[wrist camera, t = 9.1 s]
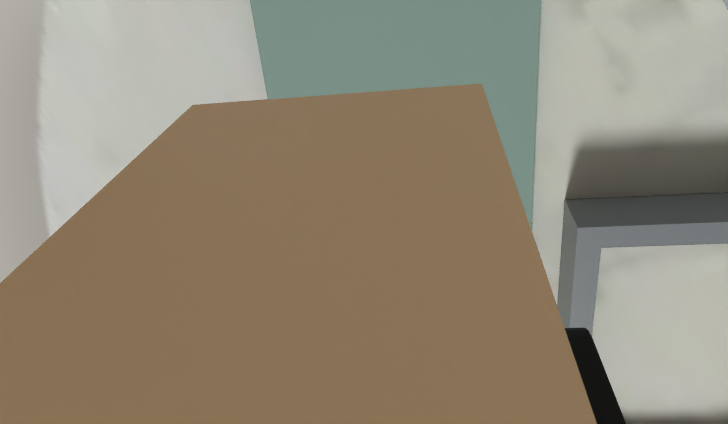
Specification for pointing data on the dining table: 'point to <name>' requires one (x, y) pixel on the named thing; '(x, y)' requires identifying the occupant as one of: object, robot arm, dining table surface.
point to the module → (297, 277)
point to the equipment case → (628, 238)
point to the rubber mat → (411, 56)
